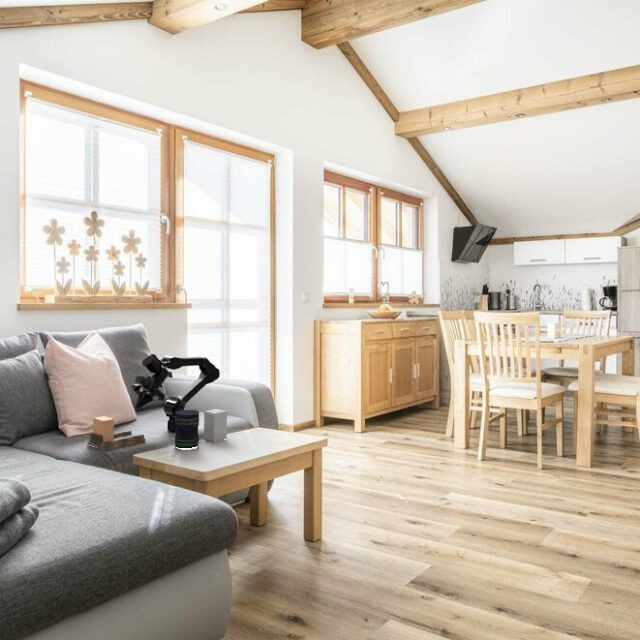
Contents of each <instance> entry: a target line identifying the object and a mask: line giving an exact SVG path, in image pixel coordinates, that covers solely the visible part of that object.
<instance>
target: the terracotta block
mask: <svg viewBox="0 0 640 640" xmlns="http://www.w3.org/2000/svg"><path fill="white" fill-rule="evenodd" d="M92 419H93V421H92V433H95V434H98V435H101V436H103V442H107V441H112V440H114V433H115V432H114V430H115V427H114V425H115V419H114V418H111V417H108V416H105V415H103V416H97V417H92Z"/></svg>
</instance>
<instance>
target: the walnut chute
mask: <svg viewBox="0 0 640 640" xmlns="http://www.w3.org/2000/svg"><path fill="white" fill-rule="evenodd" d="M89 434H90V437H89V438H88V441H87V446H88V445H91V446H94V447H97V448H99V449H98V450H100V449H102V450H101V451H102V452H106V451H110V450H115V449H119V447H120V448H123V447H128V445H129V446H132V445H133V446H134V445H137V444H136V443H138V444H141V442H142V443H146V442H145V441H146V440H147V439H146V437H145V434H144V433H141V434H133V433H132V430H131V429H130V430H129V429H128V430H125V431H120V432H114V440H112V441H107V442H103V436H101V435H98V434H95V433H93V432H90V433H89ZM91 446H90V447H91ZM94 447H93V448H94ZM97 448H96V449H97Z"/></svg>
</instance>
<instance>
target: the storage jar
mask: <svg viewBox="0 0 640 640" xmlns="http://www.w3.org/2000/svg"><path fill="white" fill-rule="evenodd" d="M199 425H200V411H199V410H197V409H184V410H179V411H176V416H175V426H176V432H175V435H174V444H175V445H174V448H175V447H178V448H192V447H196V446H198V447H199V441H200V440H199V439H200V438H199V437H200V434H199Z"/></svg>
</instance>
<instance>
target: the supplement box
mask: <svg viewBox="0 0 640 640" xmlns="http://www.w3.org/2000/svg"><path fill="white" fill-rule="evenodd" d="M203 414H204V415H203V419H204V420H203V421H204V422H203V440H206V441H209V440H210V441H209V442H212V441H217V442H220V441H219V440H222V441H225V440H224V439H226V440H227V434H228V433H227V432H228V431H227V430H228V410H223V409H218V408H215V409H209V410H204V413H203Z"/></svg>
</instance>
